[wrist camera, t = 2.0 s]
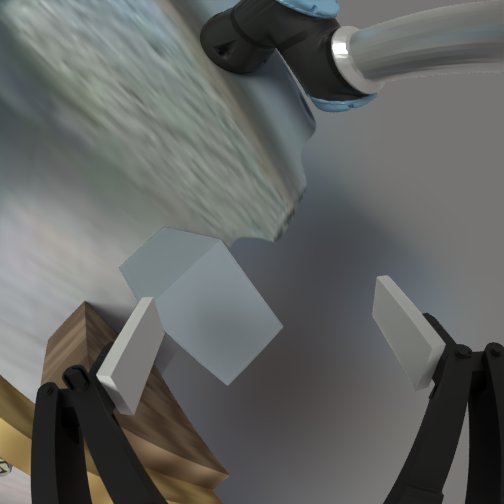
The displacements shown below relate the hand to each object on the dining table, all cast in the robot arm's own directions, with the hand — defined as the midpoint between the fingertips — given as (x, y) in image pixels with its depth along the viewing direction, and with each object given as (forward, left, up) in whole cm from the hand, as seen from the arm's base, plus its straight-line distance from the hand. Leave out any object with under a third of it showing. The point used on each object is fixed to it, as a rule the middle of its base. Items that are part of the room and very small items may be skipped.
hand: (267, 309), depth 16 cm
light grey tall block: (-3, +7, -33) cm, 34 cm away
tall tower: (+12, +17, -33) cm, 39 cm away
